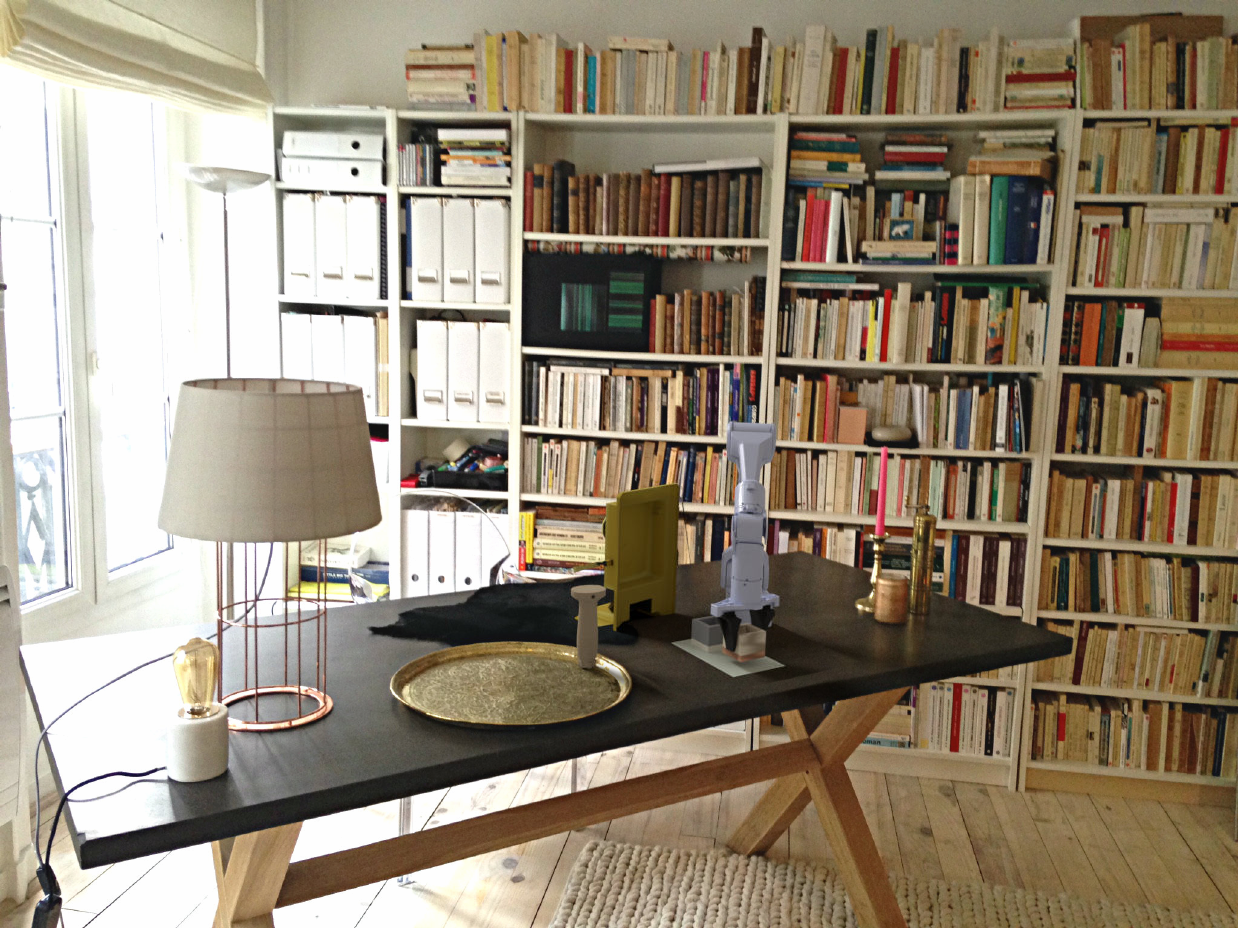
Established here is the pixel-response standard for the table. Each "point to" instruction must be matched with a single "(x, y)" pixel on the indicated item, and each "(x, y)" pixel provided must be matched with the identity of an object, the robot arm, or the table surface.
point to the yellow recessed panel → (640, 553)
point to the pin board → (729, 660)
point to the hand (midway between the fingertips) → (743, 647)
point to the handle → (587, 622)
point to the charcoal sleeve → (707, 634)
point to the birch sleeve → (748, 643)
